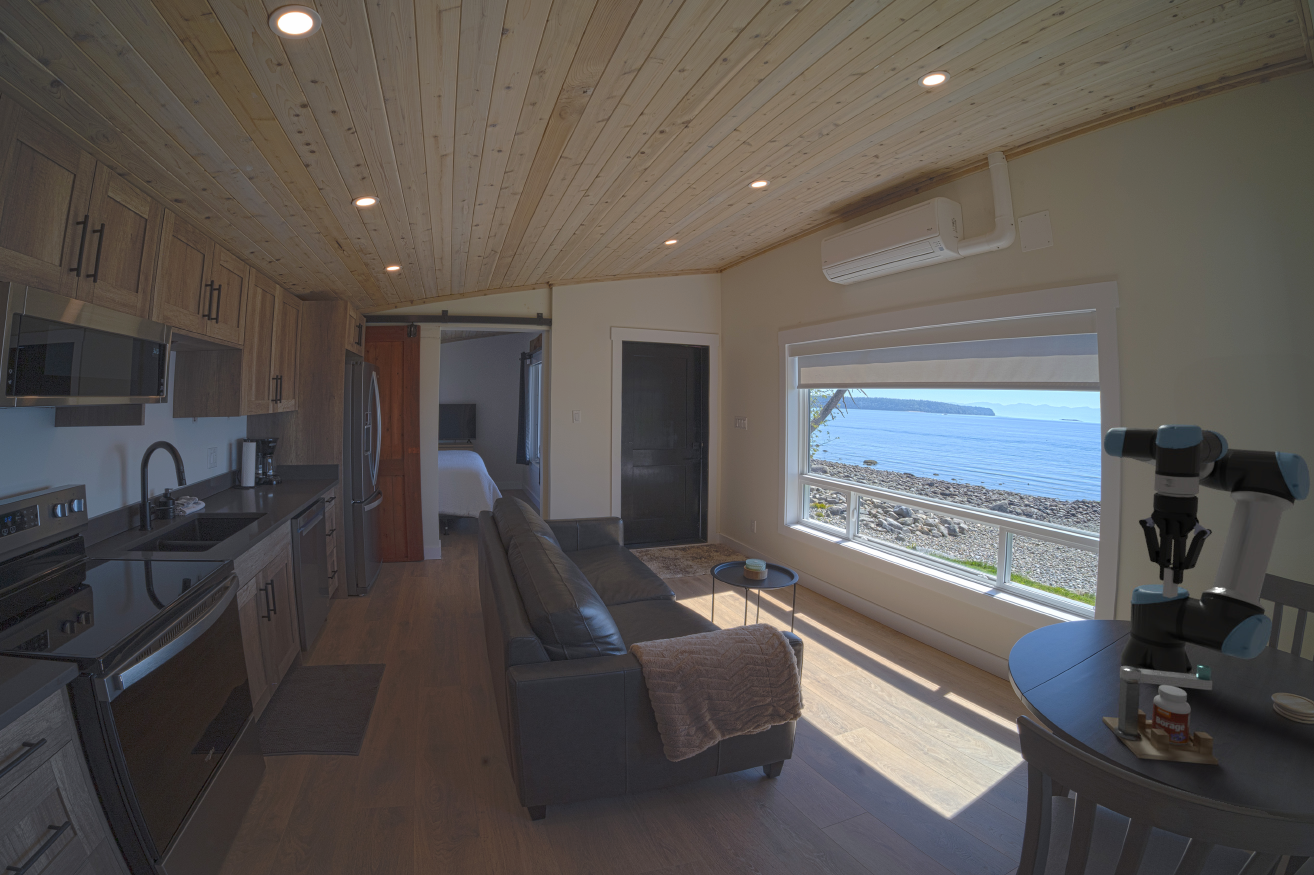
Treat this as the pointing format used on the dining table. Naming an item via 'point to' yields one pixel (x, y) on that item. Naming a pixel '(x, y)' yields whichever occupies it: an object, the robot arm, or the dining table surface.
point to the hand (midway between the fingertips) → (1170, 595)
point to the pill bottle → (1172, 714)
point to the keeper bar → (1169, 677)
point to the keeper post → (1128, 711)
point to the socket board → (1159, 755)
